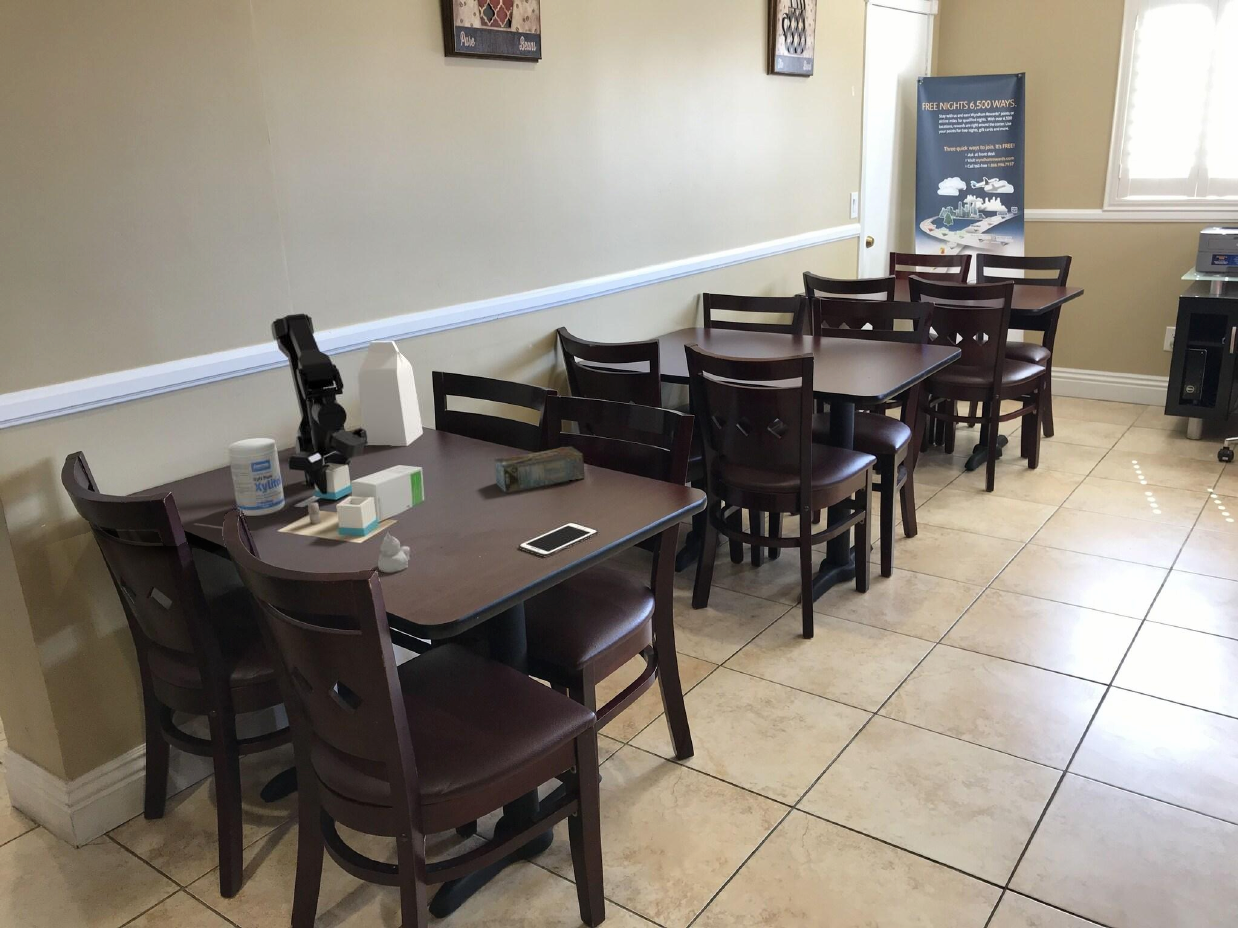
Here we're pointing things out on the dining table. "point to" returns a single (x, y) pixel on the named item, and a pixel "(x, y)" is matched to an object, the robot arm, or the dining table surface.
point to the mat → (307, 501)
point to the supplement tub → (256, 476)
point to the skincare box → (391, 489)
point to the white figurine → (393, 555)
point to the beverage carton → (539, 469)
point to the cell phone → (558, 539)
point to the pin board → (327, 526)
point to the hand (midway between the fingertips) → (333, 489)
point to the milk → (388, 396)
